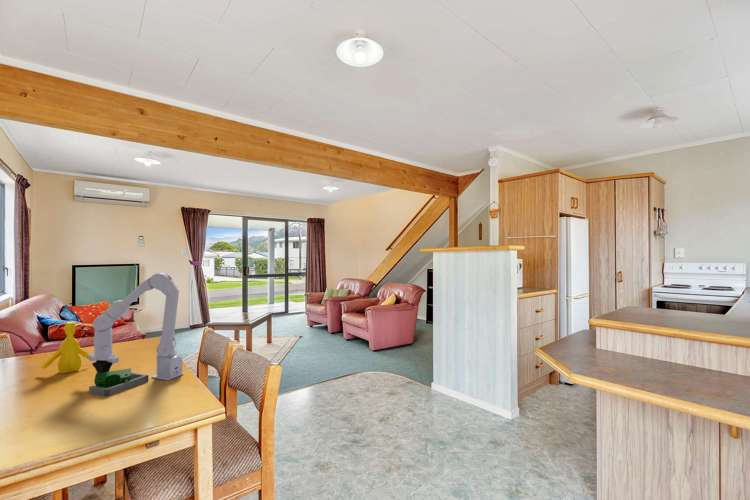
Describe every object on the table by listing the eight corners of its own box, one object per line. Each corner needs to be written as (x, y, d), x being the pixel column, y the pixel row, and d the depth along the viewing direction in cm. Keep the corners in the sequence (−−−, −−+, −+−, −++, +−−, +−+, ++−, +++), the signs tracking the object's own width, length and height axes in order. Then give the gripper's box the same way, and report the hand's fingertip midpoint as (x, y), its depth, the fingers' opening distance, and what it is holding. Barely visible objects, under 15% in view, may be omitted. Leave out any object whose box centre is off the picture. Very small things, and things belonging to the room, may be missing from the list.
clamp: (101, 402, 133) (88, 384, 129) (102, 392, 138) (90, 375, 134) (136, 385, 138) (124, 367, 134) (136, 376, 143) (125, 359, 139)
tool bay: (148, 381, 143) (148, 374, 143) (106, 396, 127) (106, 389, 127) (132, 378, 146) (132, 372, 146) (89, 393, 130) (89, 386, 130)
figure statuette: (93, 364, 163) (94, 317, 163) (96, 368, 157) (96, 320, 157) (40, 374, 150) (41, 323, 150) (41, 379, 145) (42, 325, 145)
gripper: (79, 345, 138) (79, 380, 138) (105, 349, 134) (105, 384, 133) (98, 341, 145) (98, 374, 145) (124, 344, 140) (123, 378, 140)
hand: (103, 379), depth 140 cm, fingers closed
